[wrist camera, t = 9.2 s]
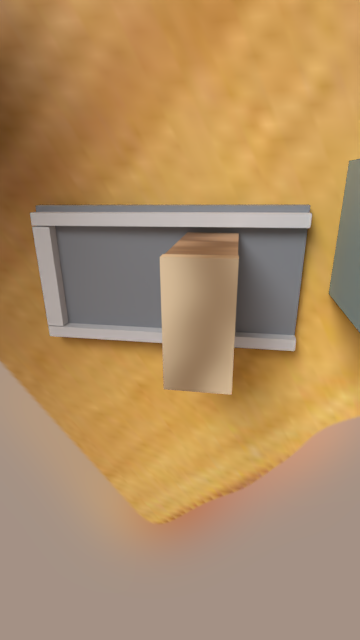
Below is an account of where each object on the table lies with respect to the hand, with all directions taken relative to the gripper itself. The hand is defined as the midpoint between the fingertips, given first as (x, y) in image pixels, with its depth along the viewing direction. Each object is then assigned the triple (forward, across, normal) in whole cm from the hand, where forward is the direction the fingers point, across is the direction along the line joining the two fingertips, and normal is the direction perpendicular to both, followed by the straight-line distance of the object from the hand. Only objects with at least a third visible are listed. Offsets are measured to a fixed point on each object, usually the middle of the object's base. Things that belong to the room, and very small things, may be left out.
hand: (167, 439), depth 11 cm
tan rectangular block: (+19, 0, 0) cm, 19 cm away
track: (+20, -4, 0) cm, 21 cm away
